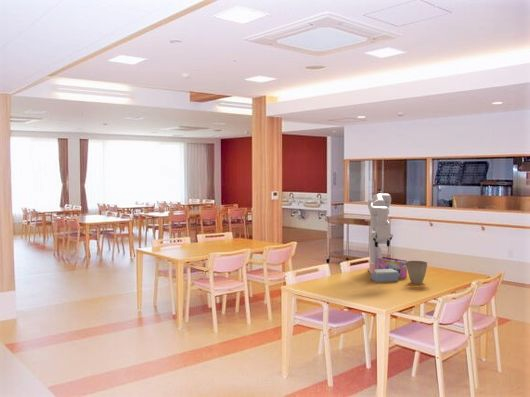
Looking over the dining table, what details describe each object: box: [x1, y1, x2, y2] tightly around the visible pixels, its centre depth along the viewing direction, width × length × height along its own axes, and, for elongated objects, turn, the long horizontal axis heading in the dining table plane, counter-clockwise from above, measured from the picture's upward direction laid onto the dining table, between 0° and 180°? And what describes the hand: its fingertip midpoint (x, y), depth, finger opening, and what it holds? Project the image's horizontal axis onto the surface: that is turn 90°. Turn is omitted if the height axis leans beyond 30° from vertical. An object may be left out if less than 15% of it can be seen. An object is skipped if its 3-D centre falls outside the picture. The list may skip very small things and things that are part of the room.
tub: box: [370, 272, 399, 283], centre depth 381 cm, size 11×17×7 cm, turn 103°
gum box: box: [378, 256, 408, 279], centre depth 399 cm, size 24×8×14 cm, turn 40°
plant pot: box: [406, 260, 428, 285], centre depth 372 cm, size 15×15×16 cm
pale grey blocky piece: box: [368, 262, 398, 274], centre depth 380 cm, size 11×20×8 cm, turn 103°
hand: (382, 246), depth 377 cm, fingers open, 9 cm apart
